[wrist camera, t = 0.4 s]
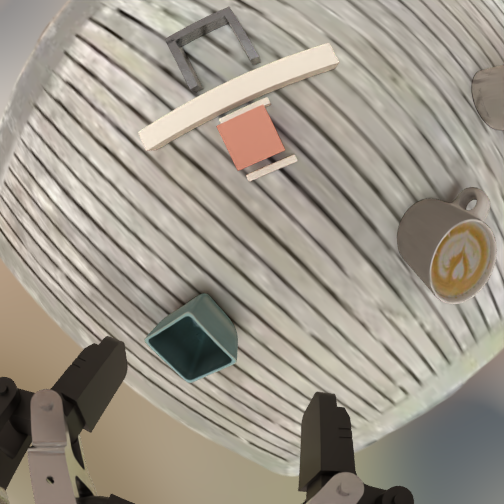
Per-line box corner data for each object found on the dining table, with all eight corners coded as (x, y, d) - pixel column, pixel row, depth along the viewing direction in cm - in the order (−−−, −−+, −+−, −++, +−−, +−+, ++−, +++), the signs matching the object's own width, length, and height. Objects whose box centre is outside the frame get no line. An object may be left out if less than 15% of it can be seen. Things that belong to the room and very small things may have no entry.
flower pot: (165, 304, 42) (141, 340, 33) (207, 275, 39) (188, 310, 31) (203, 344, 44) (188, 384, 35) (247, 320, 41) (238, 362, 33)
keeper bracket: (232, 14, 26) (229, 6, 24) (260, 62, 28) (258, 56, 26) (172, 44, 28) (164, 39, 26) (196, 92, 30) (189, 89, 28)
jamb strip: (325, 50, 27) (328, 42, 24) (365, 134, 30) (372, 133, 27) (148, 132, 33) (137, 132, 30) (186, 210, 36) (178, 216, 33)
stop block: (268, 114, 31) (263, 104, 22) (284, 148, 32) (285, 150, 24) (233, 130, 32) (216, 126, 23) (249, 164, 33) (238, 171, 25)
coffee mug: (423, 281, 36) (454, 319, 27) (382, 237, 34) (412, 270, 25) (479, 215, 31) (521, 237, 22) (445, 164, 30) (490, 175, 20)
